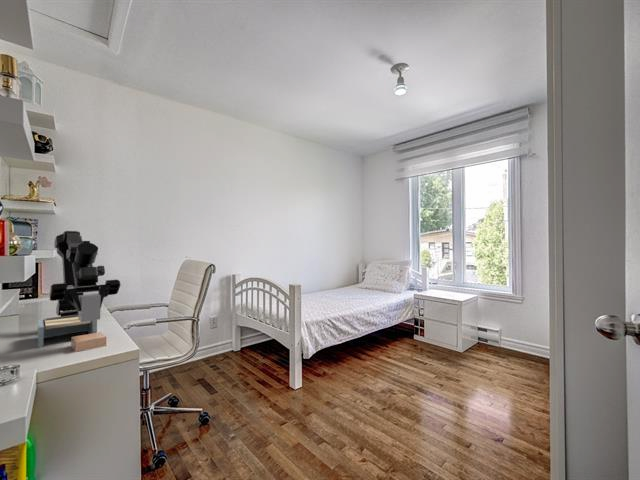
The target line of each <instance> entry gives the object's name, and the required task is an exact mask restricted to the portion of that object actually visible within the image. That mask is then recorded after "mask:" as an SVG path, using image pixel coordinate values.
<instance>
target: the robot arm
mask: <svg viewBox="0 0 640 480" xmlns="http://www.w3.org/2000/svg"><path fill="white" fill-rule="evenodd" d="M54 249H56V254H57V255H58V256H59V257H61V260H62V262H61V263H62V275H63V277H62V278H63V279H62V280H63V283H61V282H60V283H53V284H51V285H50V288H49V301H57V303H56V310H55V312H56V315H57V317H62V316H70V315H78V311H81V305H80V302H79V295H84V293H93V292H98V293H97V294H99V295H101V303H100V310H101V308H102V306H103V301H104V298H108V296H111V295H113V296H114V295H117V294H118V293H119V290H120V288H121V281H120V280H119V279H107V280H105V284H98V282H99V277H102V276H104V275H105V274H106V269H105V266H104V265H98V266H94V263H95V262H96V258H97V256H98V252H99V247H98V246H97V245H96V244H94V243H92V242H91V241H90V240H83V237H82V235H81V233H80V231H78V230H64V231H63V233H60V234H59V235H57V236H55V239H54Z"/></svg>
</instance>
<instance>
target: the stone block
mask: <svg viewBox="0 0 640 480" xmlns="http://www.w3.org/2000/svg"><path fill="white" fill-rule="evenodd" d="M70 343H71V344H70V346H71V348H72V349H73V351H74V352H75V353H77V352H82V351H87V350H91V349H97V348H102V347H107V335H105V334H104V333H102V332H101V331H97V333H92V334H89V333H88V334H82V335H76V336H71V339H70Z"/></svg>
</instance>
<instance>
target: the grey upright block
mask: <svg viewBox="0 0 640 480" xmlns="http://www.w3.org/2000/svg"><path fill="white" fill-rule="evenodd" d="M79 302H80V305H81V311H78V320H79V321H81V322H85V321H92V320H97V321H98V320H101V309H100V303H101V295H99V294H98V293H90V294H83V295H79Z"/></svg>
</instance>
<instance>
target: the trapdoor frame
mask: <svg viewBox="0 0 640 480" xmlns="http://www.w3.org/2000/svg"><path fill="white" fill-rule="evenodd" d="M44 321H47V318H41V319H37V346H38V347H37V348H40V349H41V348H44V338H48V337H55V336H61V335H67V334H74V333H79V332H88V334H92V333H98V320H92V321H91V323H86V324H79V325H72V326H65V327H58V328H51V329H46V328H45V324H44Z"/></svg>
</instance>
